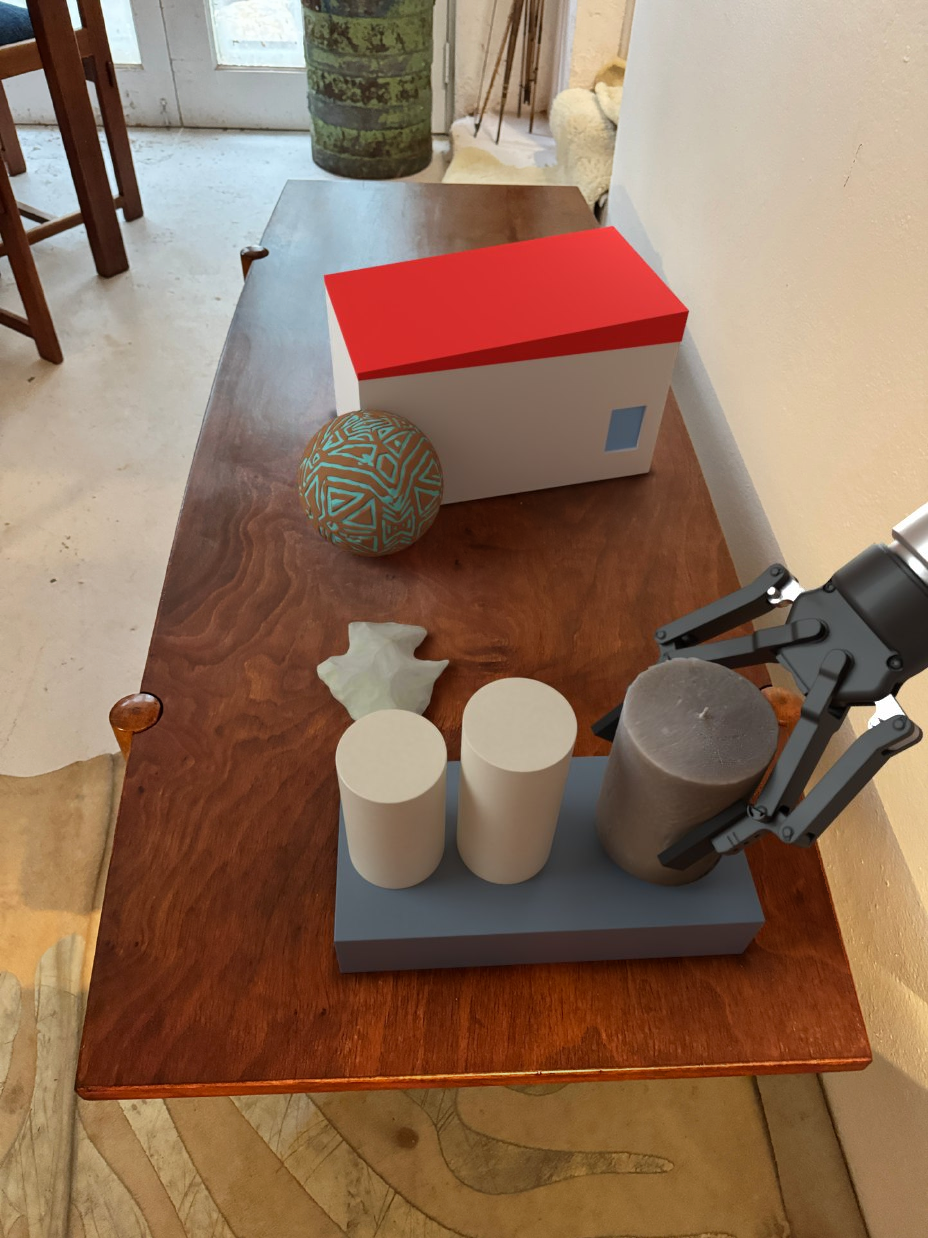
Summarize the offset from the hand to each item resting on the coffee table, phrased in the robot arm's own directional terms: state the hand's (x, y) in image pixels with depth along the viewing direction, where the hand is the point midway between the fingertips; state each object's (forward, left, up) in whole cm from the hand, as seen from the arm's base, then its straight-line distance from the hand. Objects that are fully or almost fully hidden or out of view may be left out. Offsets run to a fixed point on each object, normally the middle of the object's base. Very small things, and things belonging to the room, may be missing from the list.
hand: (634, 795), depth 57 cm
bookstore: (+48, -34, -13) cm, 60 cm away
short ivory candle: (+11, +12, -7) cm, 18 cm away
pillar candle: (-1, -3, -6) cm, 7 cm away
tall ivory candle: (+6, +6, -7) cm, 11 cm away
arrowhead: (+26, +1, -13) cm, 29 cm away
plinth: (+4, +4, -13) cm, 14 cm away
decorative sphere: (+43, -12, -13) cm, 47 cm away
